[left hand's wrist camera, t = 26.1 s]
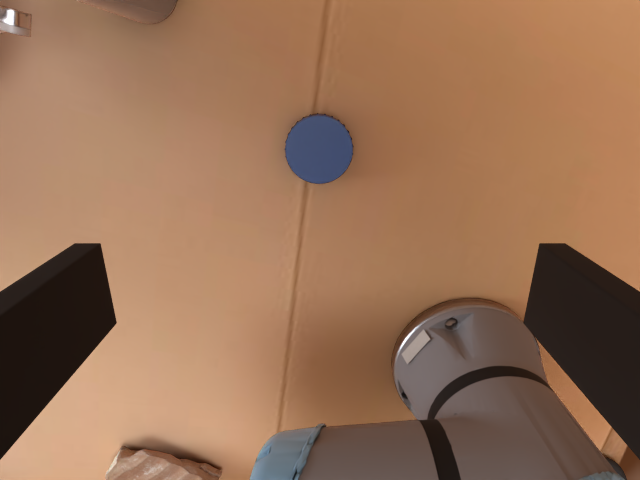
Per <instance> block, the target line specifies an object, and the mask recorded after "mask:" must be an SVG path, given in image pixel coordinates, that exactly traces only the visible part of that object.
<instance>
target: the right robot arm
mask: <svg viewBox="0 0 640 480" xmlns="http://www.w3.org/2000/svg"><path fill="white" fill-rule="evenodd" d="M4 32H9V33H12V34H17V35H21V36H28V37H30V36H31V14H29V13H25V12H22V11H18V10H16V9H12V8H9V7H5V6H2V5H0V34H1V33H4Z"/></svg>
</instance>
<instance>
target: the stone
mask: <svg viewBox="0 0 640 480" xmlns="http://www.w3.org/2000/svg"><path fill="white" fill-rule="evenodd" d="M221 474H222V471H221V470H219V469H216V468H214V467H212V466H211V465H209V464H207V463H196V462H194V461H191V460H188V459H177V458H176V457H174V456H172V455H171V454H167V453H162V452H159V451H150V450H148V449H143V450H140V451H135V450H130V449H128V448H127V447H125V446H122V447H121V449H120V450H119V452H118V454H117V456H116V457H115V458H114V460H113V462H112V464H111V466H110V468H109V469H108V471H107V472H106V480H218V479H219V478H220V477H221Z"/></svg>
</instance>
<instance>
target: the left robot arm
mask: <svg viewBox="0 0 640 480" xmlns="http://www.w3.org/2000/svg"><path fill="white" fill-rule="evenodd" d="M116 323H117V322H116V318H115V313H114V308H113V303H112V298H111V293H110V288H109V283H108V278H107V273H106V268H105V263H104V258H103V253H102V249H101V244H100V243H75V244H73V245H72V246H70V247H69V248H67V249H66V250H64V251H62V252H61V253H59V254H58V255H56V256H55V257H53V258H52V259H50V260H49V261H47V262H45V263H44V264H42V265H41V266H39V267H38V268H36V269H35V270H33V271H32V272H30V273H29V274H27V275H25V276H24V277H22V278H21V279H19V280H18V281H16V282H15V283H13V284H12V285H10V286H8V287H7V288H5V289H4V290H2V291H1V292H0V459H1V458H2V457H3V456H4V455H5V453H6V452H7V451H8V450H9V449H10V448H11V446H12V445H13V444H14V443H15V442H16V441H17V439H18V438H19V437H20V436H21V435H22V434H23V432H24V431H25V430H26V429H27V428H28V426H29V425H30V424H31V423H32V422H33V421H34V419H35V418H36V417H37V416H38V415H39V414H40V412H41V411H42V410H43V409H44V408H45V407H46V405H47V404H48V403H49V402H50V401H51V400H52V398H53V397H54V396H55V395H56V394H57V392H58V391H59V390H60V389H61V388H62V387H63V385H64V384H65V383H66V382H67V381H68V380H69V378H70V377H71V376H72V375H73V374H74V373H75V371H76V370H77V369H78V368H79V367H80V366H81V364H82V363H83V362H84V361H85V360H86V358H87V357H88V356H89V355H90V354H91V353H92V351H93V350H94V349H95V348H96V347H97V346H98V344H99V343H100V342H101V341H102V340H103V339H104V337H105V336H106V335H107V334H108V333H109V331H110V330H111V329H112V328H113V327H114V326H115V324H116ZM535 337H536V339H537V340H538V341H539V342H540V343H541V344H542V346H543V347H544V348H545V349H546V350H547V351H548V353H549V354H550V355H551V356H552V357H553V358H554V360H555V361H556V362H557V363H558V364H559V366H560V367H561V368H562V369H563V370H564V371H565V373H566V374H567V375H568V376H569V377H570V378H571V380H572V381H573V382H574V383H575V384H576V385H577V387H578V388H579V389H580V390H581V391H582V392H583V394H584V395H585V396H586V397H587V398H588V400H589V401H590V402H591V403H592V404H593V405H594V407H595V408H596V409H597V410H598V411H599V412H600V414H601V415H602V416H603V417H604V418H605V419H606V421H607V422H608V423H609V424H610V425H611V426H612V428H613V429H614V430H615V431H616V432H617V434H618V435H619V436H620V437H621V438H622V439H623V441H624V442H625V443H626V444H627V445H628V446H629V448H630V449H631V450H632V451H633V452H634V453H635V455H636V456H637V457H638V458H639V459H640V292H639V291H638V290H636V289H635V288H633V287H632V286H630V285H628V284H627V283H625V282H624V281H622V280H621V279H619V278H618V277H616V276H615V275H613V274H611V273H610V272H608V271H607V270H605V269H604V268H602V267H601V266H599V265H598V264H596V263H595V262H593V261H591V260H590V259H588V258H587V257H585V256H584V255H582V254H581V253H579V252H578V251H576V250H574V249H573V248H571V247H570V246H568V245H567V244H565V243H540V244H539V249H538V253H537V258H536V263H535V268H534V273H533V278H532V283H531V288H530V293H529V298H528V303H527V308H526V313H525V318H524V322H523V321H522V320H521V319H520V318H519V317H518V316H517V315H516V314H515V313H514V312H513V311H511V310H510V309H508V308H507V307H505V306H503V305H501V304H499V303H496V302H493V301H489V300H484V299H475V298H465V299H456V300H451V301H447V302H444V303H441V304H438V305H436V306H434V307H432V308H429V309H428V310H426V311H424V312H423V313H421V314H420V315H418V316H417V317H416V318H415V319H414V320H412V321H411V322H410V323H409V324H408V325H407V326H406V328H405V329H404V330H403V331H402V333H401V335H400V336H399V338H398V340H397V342H396V344H395V347H394V350H393V354H392V373H393V377H394V381H395V385H396V389H397V391H398V394H399V396H400V398H401V399H402V401H403V402H404V403H405V405H406V406H407V407H408V408H409V409H410V411H411V412H412V413H413V415H414V416H415V417H416V418H417V420H408V421H395V422H383V423H370V424H357V425H344V426H330V427H326V425H325V424H318V425H317V426H316V427H312V428H304V429H296V430H288V431H283V432H279V433H277V434H275V435H273V436H272V437H271V438H270V439H269V440H268V441H267V442H266V443H265V444H264V446H263V447H262V449H261V451H260V452H259V455H258V457H257V459H256V462H255V465H254V467H253V470H252V473H251V477H250V480H627V479H626V476H625V474H624V472H623V470H622V469H621V467H620V466H619V465H618V464H617V463H616V462H614V461H613V460H611V459H609V458H607V457H604V456H603V455H602V453H601V452H600V451H599V449H598V448H597V447H596V445H595V444H594V443H593V442H592V440H591V439H590V438H589V436H588V435H587V434H586V433H585V431H584V430H583V429H582V427H581V426H580V425H579V423H578V422H577V421H576V420H575V418H574V417H573V416H572V414H571V413H570V412H569V411H568V409H567V408H566V407H565V405H564V404H563V403H562V401H561V400H560V399H559V398H558V396H557V395H556V394H555V393H554V391H553V390H552V389H551V387H550V386H549V385H548V382H547V378H546V375H545V372H544V368H543V365H542V362H541V356H540V351H539V346H538V343H537V341H536V339H535Z"/></svg>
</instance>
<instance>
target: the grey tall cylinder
mask: <svg viewBox="0 0 640 480" xmlns="http://www.w3.org/2000/svg"><path fill="white" fill-rule="evenodd" d="M76 1H79V2H82V3H85V4H87V5H90V6H93V7H96V8H99V9H102V10H105V11H108V12H111V13H114V14H117V15H119V16H122V17H125V18H128V19H131V20H134V21H137V22H140V23H144V24H154V23H158V22H161V21H163V20H164V19H166V18H167V17H168V16H169V15H170V14H171V13H172V11H173V9H174V7H175V5H176V2H177V0H76Z"/></svg>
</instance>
